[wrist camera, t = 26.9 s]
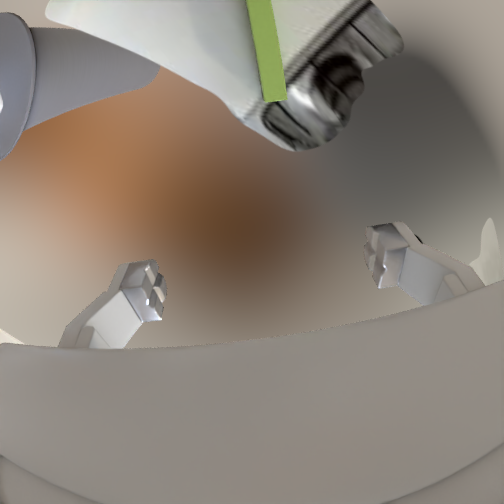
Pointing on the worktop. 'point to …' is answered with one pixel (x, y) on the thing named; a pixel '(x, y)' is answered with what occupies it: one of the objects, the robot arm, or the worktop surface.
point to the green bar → (267, 50)
